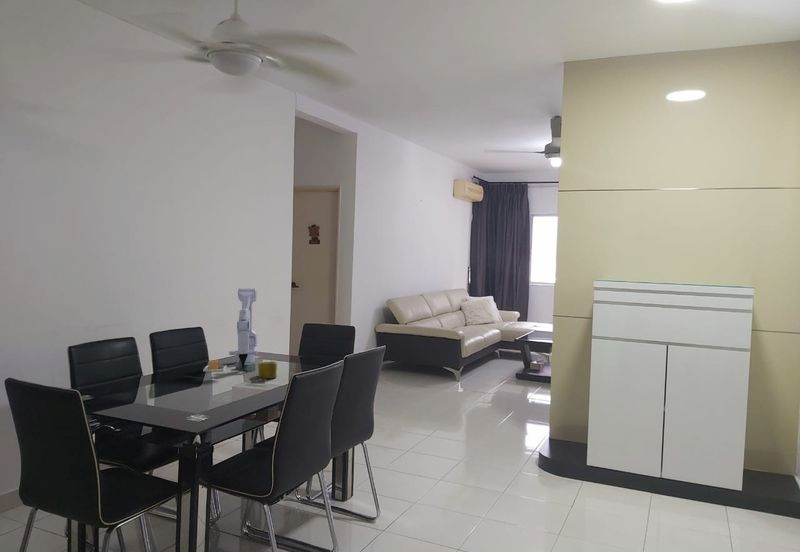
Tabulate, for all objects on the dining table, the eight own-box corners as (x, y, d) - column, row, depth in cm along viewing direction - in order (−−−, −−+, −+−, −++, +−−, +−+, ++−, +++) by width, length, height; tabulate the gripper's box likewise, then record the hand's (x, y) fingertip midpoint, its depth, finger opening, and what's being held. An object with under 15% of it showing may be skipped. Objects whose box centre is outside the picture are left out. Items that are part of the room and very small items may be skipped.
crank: (233, 368, 322) (233, 360, 322) (241, 367, 326) (241, 359, 326) (248, 371, 314) (248, 363, 314) (255, 370, 318) (255, 362, 318)
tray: (206, 369, 324) (206, 365, 324) (226, 368, 326) (226, 365, 325) (203, 373, 314) (203, 369, 313) (223, 372, 315) (224, 369, 315)
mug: (277, 376, 299) (272, 357, 301) (258, 382, 300) (253, 363, 301) (284, 376, 311) (279, 357, 313) (265, 382, 312) (260, 363, 313)
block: (218, 369, 322) (218, 360, 321) (217, 371, 318) (217, 361, 318) (210, 369, 321) (210, 360, 321) (209, 371, 317) (209, 361, 317)
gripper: (228, 344, 312) (228, 370, 312) (256, 344, 313) (256, 369, 314) (230, 342, 319) (230, 367, 319) (258, 342, 320) (257, 367, 321)
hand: (243, 368), depth 317 cm, fingers closed, pressing on crank
